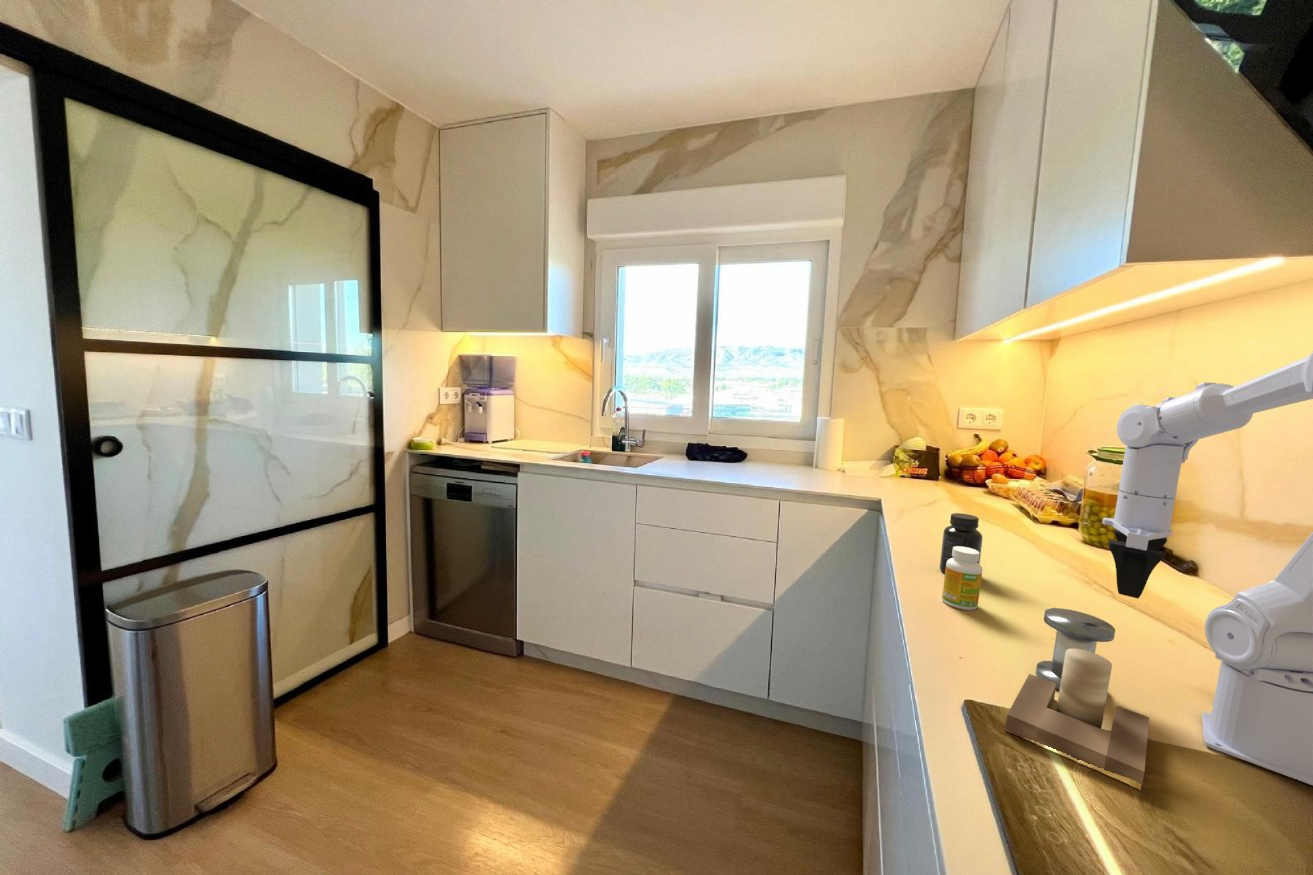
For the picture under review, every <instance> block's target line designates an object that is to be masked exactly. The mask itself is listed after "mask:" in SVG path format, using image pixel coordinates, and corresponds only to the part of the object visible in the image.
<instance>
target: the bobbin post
mask: <svg viewBox="0 0 1313 875" xmlns="http://www.w3.org/2000/svg"><path fill="white" fill-rule="evenodd" d="M1043 621H1044V624H1046V625H1047V626H1049V627H1050V628H1053V629H1054V630H1056V634H1055V640H1054V647H1053V654H1052V660H1041V661H1039V662H1037V664H1036V669H1035V676H1037V677H1040V678H1042V679H1045V680H1048V681H1051V682H1054V683H1056V690H1055V691H1057V692H1059V691H1060V684H1061V678H1062V672H1063V665H1064V659H1065V652H1066V650H1067V649H1081V650H1086V651H1089V652H1092V653H1095V654H1096V648H1097V643H1098V642H1099V643H1109V642H1112V641H1114V639H1115V634H1116V628H1115V626H1113V625H1112V624H1110V623H1109V622H1107V621H1105V620H1103V619H1102V618H1099V617H1096V616H1094V615H1092V614H1087V613H1085V612H1081V611H1077V610H1072V609H1068V608H1059V607H1058V608H1056V607H1055V608H1054V607H1053V608H1052V607H1051V608H1050V607H1049V608H1047V609H1045V611H1044V616H1043Z"/></svg>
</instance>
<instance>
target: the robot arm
mask: <svg viewBox="0 0 1313 875" xmlns="http://www.w3.org/2000/svg"><path fill="white" fill-rule="evenodd" d="M1309 400H1313V351H1312V352H1311V353H1310V355H1308V356H1305V357H1303V358H1300V359H1298V360H1296V361H1293V362H1291V363H1289V364H1286V365H1283V366H1282V367H1279V368H1277V369H1274V370H1271V371H1269V372H1266V373H1264V374H1263V375H1262V374H1261V375H1260V376H1257V377H1255V378H1252V379H1250V380H1248V381H1245V382H1242V383H1240V384H1238V385H1235V386H1234V385H1231V384H1227V383H1221V382H1220V383H1217V382H1201V383H1199V384H1197V385H1195V390H1193V391H1191V392H1188V393H1185V394H1183V395H1179V396H1177V397H1173V396H1172V397H1167V398H1164V399H1162V402H1161V403H1158V404H1157V405H1155V406H1153V405H1152V406H1151V405H1150V406H1149V405H1147V404H1143V403H1142V404H1141V403H1140V404H1138V403H1137V404H1133V405H1131V406H1130V407H1128V408H1127V409H1125V410H1124V411H1123V412H1122V413H1121V415H1120V416H1119V418H1118V421H1117V426H1116V433H1117V436H1118V438H1119V440H1120V442H1122V444H1123V445H1125V449H1124V453H1123V454H1124V456H1123V462H1122V466H1121V468H1122V469H1121V474H1120V479H1119V480H1120V481H1119V487H1118V492H1117V499H1116V506H1115V510H1114V518H1111V517H1103V518H1102V523H1101V524H1103V525H1106V526H1111V527H1113V528H1114V531H1113V534H1114V535H1115V537H1116V539H1112V538H1111V539H1109V540H1108V542H1107V545H1108V548H1109V550H1110V552H1111V554H1112V555H1111V556H1112V557H1113V560H1114V566H1115V574H1116V575H1115V576H1116V587H1117V592H1118V595H1122V596H1126V597H1130V598H1132V599H1133V598H1134V599H1138V600H1139V598H1140V597H1141V596H1142V594H1143V592H1144V590H1145V587H1146V585H1147V583H1148V580H1149V578H1150V575H1151V574H1152V572H1153V571H1154V569H1155V568H1156V567H1157V565H1158V564H1159V563H1160V562H1161V561H1163V560H1164V558H1165V557H1166V555H1167V554H1166V552H1165V551H1160V549H1162V547H1163V546H1164V545H1166V544H1167V541H1168V538H1170V537H1171V536H1172V531H1173V530H1172V529H1171V525H1172V520H1173V513H1174V507H1175V502H1176V497H1177V490H1178V486H1179V480H1180V474H1181V467H1182V464H1184V463H1185V462H1186V460H1187V461H1188V458H1189V454H1190V453H1189V452H1191V449H1192V448H1193V447H1194V446H1195V445H1196V444H1197V443H1198V441H1199V440H1201V439H1205V438H1209V437H1212V436H1216V435H1220V434H1224V433H1227V432H1230V431H1235V430H1239V429H1241V428H1243V427H1245V426H1246V425H1248V423H1250V422H1251V420H1252V418H1253V415H1254V414H1256V413H1260V412H1261V413H1262V412H1265V411H1267V410H1269V411H1270V410H1273V409H1278V408H1280V407H1285V406H1288V405H1293V404H1296V403H1301V402H1307V401H1309ZM1204 633H1205V637H1206V641H1207V643H1208V644H1209V646H1210V648H1211V650H1212V651H1213V652H1214V654H1215V656H1214V657H1215V658H1216V660H1219V661H1221V662H1220V667H1219V673H1218V678H1217V683H1216V687H1215V691H1214V692H1215V693H1214V698H1213V702H1212V709H1211V713H1210V712H1206V711H1205V712H1202V714H1201V719H1202V723H1201V724H1202V733H1203V743H1204V745H1205V746H1206V747H1208V748H1209V749H1210V748H1211V749H1213V750H1216V751H1219V752H1221V753H1225V754H1226V755H1229V756H1232V757H1235V758H1237V759H1240V760H1243V761H1246V762H1249V763H1251V764H1254V765H1256V766H1258V767H1262V768H1263V769H1266V770H1270V771H1272V772H1275V773H1278V774H1281V775H1282V776H1283V775H1284V776H1286V777H1288V778H1290V779H1294V780H1296V779H1297V781H1299V782H1302V783H1305V784H1307V785H1310V786H1313V531H1312V532H1311V533H1310V534H1309V535H1308V537H1307V538H1306V539H1305V541H1304V542H1303V543H1302V544H1301V546H1300V548H1298V550H1297V551H1296V552H1295V553H1294V555H1293V556H1292V557H1291V558H1290V559H1289V561H1288V562H1287V564H1285V566H1284V567H1283V569H1281V571H1280V573H1278V575H1277V576H1276V577H1275V579H1274V580H1272V581H1269V582H1266V583H1263V584H1260V585H1257V586H1253V587H1250V588H1248V589H1246V590H1245V589H1244V590H1243V591H1242V590H1241V591H1239V592H1238V593H1237V594H1236V595H1235V596H1234V598H1232V599H1231V600H1230V601H1229V602H1228V603H1226V604H1223V605H1219V606H1218V607H1215V608H1213V609H1212V610H1211V611H1210V612H1209V613H1208V615H1207V616H1206V618H1205V624H1204Z"/></svg>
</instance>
